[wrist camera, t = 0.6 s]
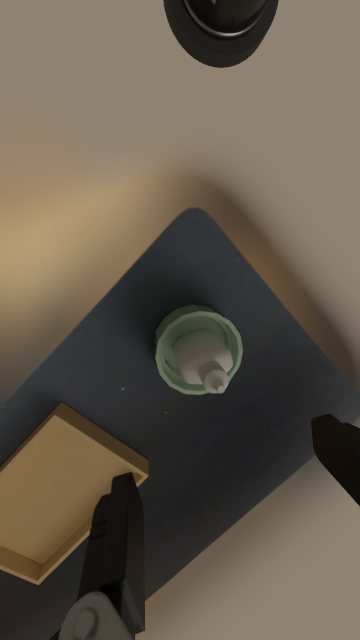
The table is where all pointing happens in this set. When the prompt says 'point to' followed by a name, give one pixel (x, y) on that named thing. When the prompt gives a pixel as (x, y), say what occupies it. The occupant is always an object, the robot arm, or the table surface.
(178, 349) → the eye dropper bottle
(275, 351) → the table surface
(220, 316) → the bowl
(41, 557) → the tray
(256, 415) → the table surface
